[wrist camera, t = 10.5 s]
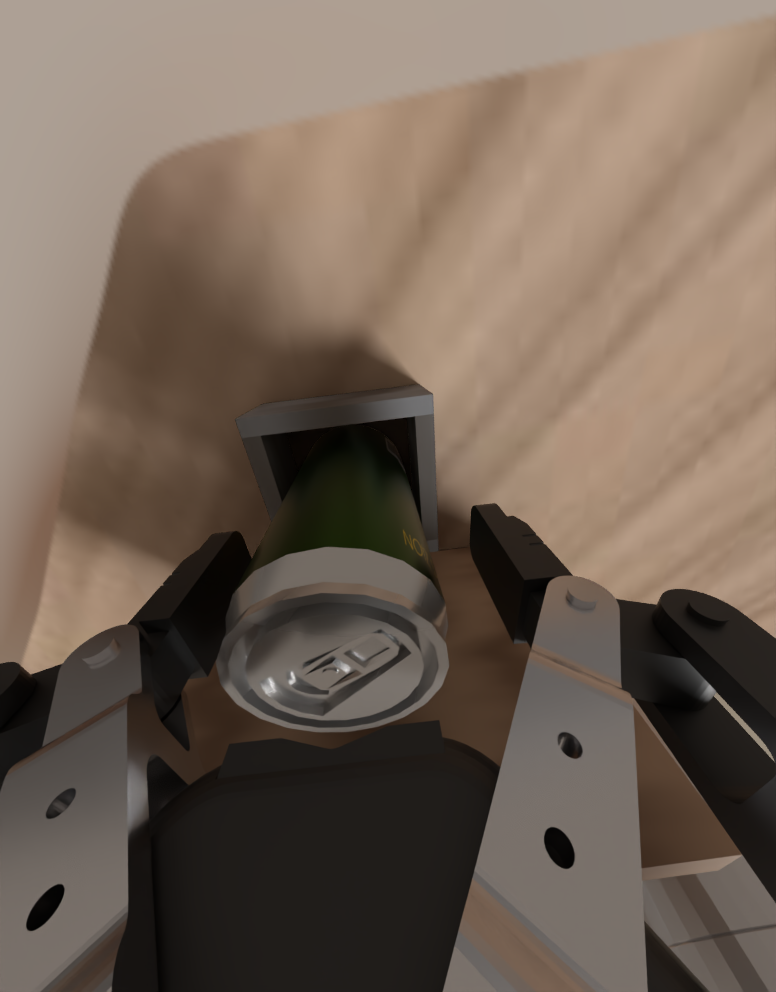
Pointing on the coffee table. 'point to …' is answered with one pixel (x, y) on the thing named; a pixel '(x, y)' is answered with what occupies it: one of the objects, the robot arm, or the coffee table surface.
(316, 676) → the beer can
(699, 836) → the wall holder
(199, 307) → the coffee table surface
